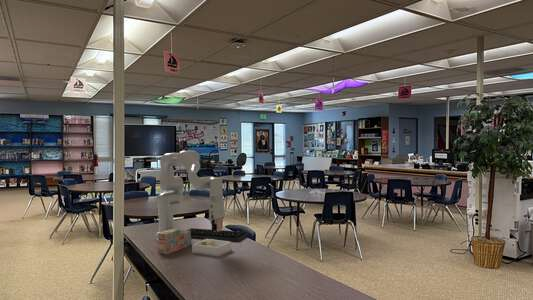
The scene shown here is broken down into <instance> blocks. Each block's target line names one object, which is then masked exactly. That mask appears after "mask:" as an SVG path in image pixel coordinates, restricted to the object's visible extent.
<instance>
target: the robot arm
mask: <svg viewBox="0 0 533 300" xmlns="http://www.w3.org/2000/svg"><path fill="white" fill-rule="evenodd" d="M200 159H201V158H200V153H199V152H198V151H197V150H181V151H179V152H170V153H169V152H167V153H164V154H163V155H161V157H160V161H159V163H160V164H159V165H160V179H159V187H160V190H161V191H163V192H161V193H158V195H157V196H156V199H155V200H156V206H157V212H158V213H157V214H158V232H156V233H155V236H157V238H156V241H157V242H158V233H160V232H163V231H166V230H170V229H174V211H173V210H172V208H171V207H172V206H177V205H178V206H179V205H180V204H181V203H182V202H183V194H184V180H183V178H182V177H181V176H179V175H175V169H174V167H176V166H177V167H178V166H179V167H180V166H182V167H183V168H184V170H186V172H187V179H188V183H189V184H190V185H191V186H192V187H193V188H194V189H195V190H197V191H204V190H205V191H206V190H209V207H208V216H209V217H208V221H209V223H210V224H211V230H212V231H217V224H216V219H219V218H221V227H222V228H223V222H224V218H225V216H226V209H225V208H226V207H225V202H224V195H223V191H224V190H223V189H224V188H223V179H222V177H218V176H217V177H216V176H202V177H200V176H198V175H197V173H198V172H199V171H200V168H201V165H200V163H199V162H200Z"/></svg>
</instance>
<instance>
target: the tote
mask: <svg viewBox="0 0 533 300" xmlns="http://www.w3.org/2000/svg"><path fill="white" fill-rule="evenodd" d="M208 240H212V247H211V246H204V245H200V241H197V242H195V243H193V244H192V243H191V246H192V247H191V252H192V254H197V255H204V256H210V257H221V256H223V255H225V254H227V253H228V252H231V251H232V242H231V241H221V240H213V239H208Z"/></svg>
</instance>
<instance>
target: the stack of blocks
mask: <svg viewBox="0 0 533 300" xmlns="http://www.w3.org/2000/svg"><path fill="white" fill-rule="evenodd" d="M157 238H158V241H157V242H158V254H160V253H161V255H168V254H169V255H170V254H172V253H175V252H177V251H179V250H182V249H185V248H188V247H191V246H192V238H191V231H186V230H185V229H182V230H181V229H180V228H173V229H170V230H166V231H163V232H160V233H158V236H157Z"/></svg>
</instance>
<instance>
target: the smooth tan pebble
mask: <svg viewBox="0 0 533 300" xmlns="http://www.w3.org/2000/svg"><path fill="white" fill-rule="evenodd" d="M216 224H217V231H221V230H223V226H222V227H221V218H219V219H216Z"/></svg>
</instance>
